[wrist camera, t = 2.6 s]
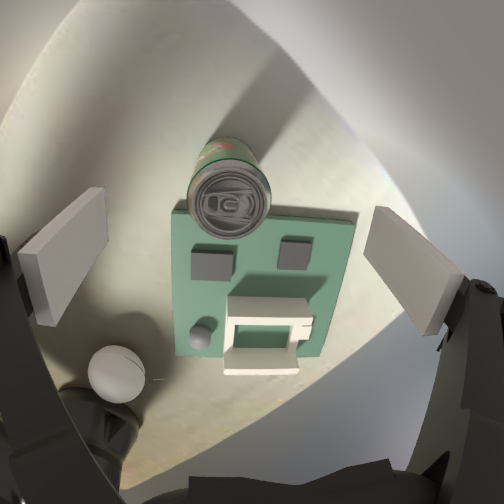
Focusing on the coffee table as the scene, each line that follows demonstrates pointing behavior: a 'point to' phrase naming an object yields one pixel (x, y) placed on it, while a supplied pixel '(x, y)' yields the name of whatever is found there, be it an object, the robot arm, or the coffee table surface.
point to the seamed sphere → (116, 374)
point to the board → (257, 291)
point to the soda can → (228, 190)
